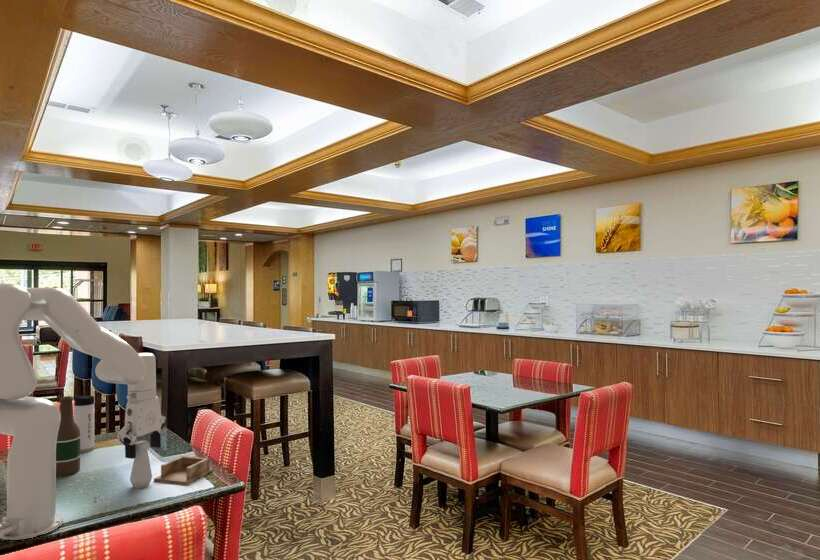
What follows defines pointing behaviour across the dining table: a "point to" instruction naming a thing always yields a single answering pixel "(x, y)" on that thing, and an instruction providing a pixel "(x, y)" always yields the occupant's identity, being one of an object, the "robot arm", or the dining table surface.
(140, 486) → the salt shaker
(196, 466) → the walnut U-rest
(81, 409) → the travel mug
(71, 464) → the beer bottle
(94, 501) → the dining table surface
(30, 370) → the robot arm
